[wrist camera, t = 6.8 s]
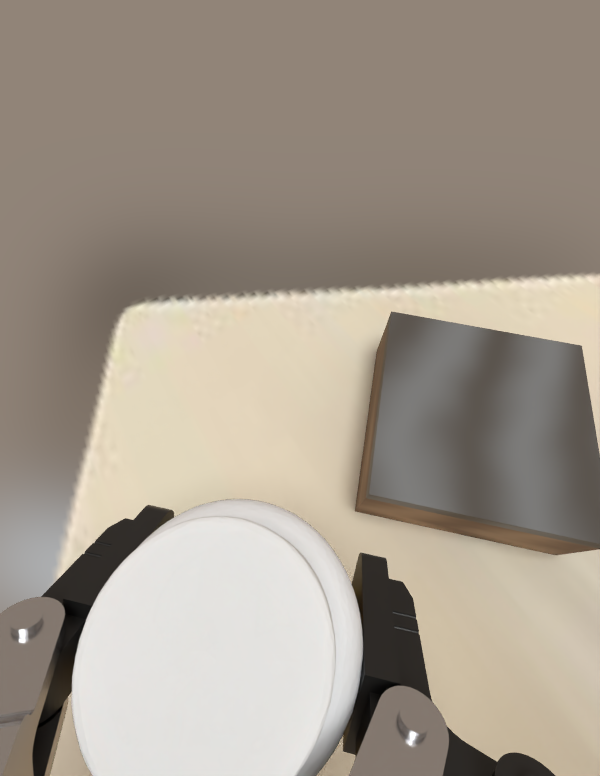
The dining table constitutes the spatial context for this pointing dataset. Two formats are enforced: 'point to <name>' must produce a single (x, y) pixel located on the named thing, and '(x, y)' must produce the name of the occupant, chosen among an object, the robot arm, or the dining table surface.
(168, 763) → the supplement bottle
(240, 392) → the dining table surface
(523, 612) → the dining table surface
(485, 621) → the dining table surface
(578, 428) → the block
